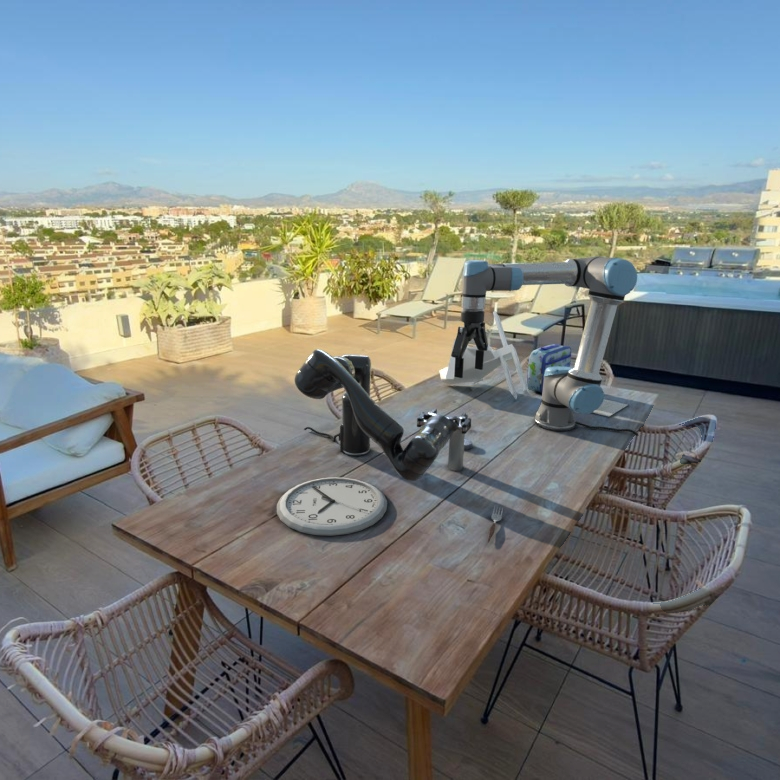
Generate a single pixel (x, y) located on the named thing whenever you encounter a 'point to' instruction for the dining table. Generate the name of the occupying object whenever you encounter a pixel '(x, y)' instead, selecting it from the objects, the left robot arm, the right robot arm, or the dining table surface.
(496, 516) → the fork
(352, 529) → the wall clock
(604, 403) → the invitation card
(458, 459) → the jar
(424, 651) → the dining table surface
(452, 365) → the white plastic object
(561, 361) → the lunch box
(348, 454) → the left robot arm
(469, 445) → the lid
